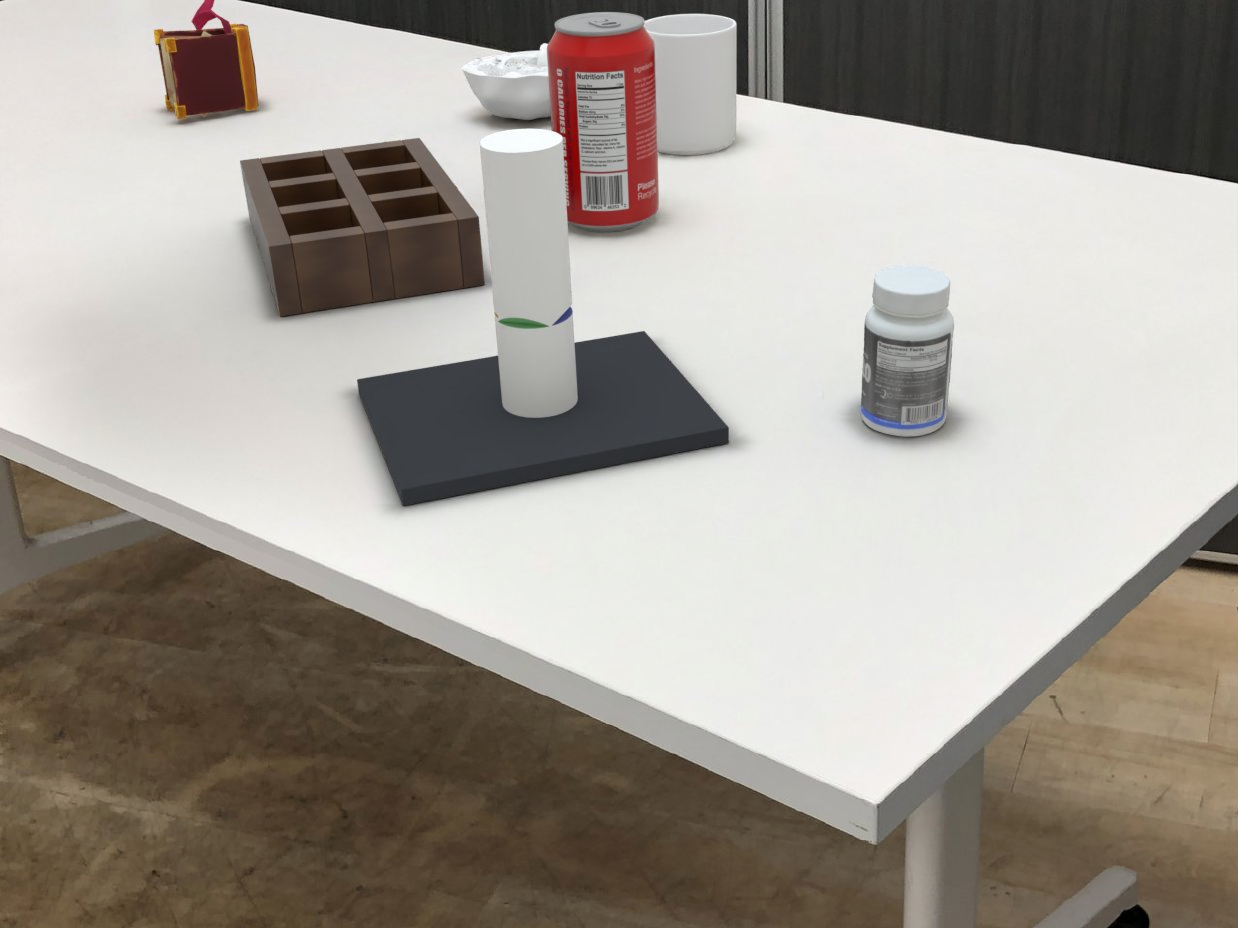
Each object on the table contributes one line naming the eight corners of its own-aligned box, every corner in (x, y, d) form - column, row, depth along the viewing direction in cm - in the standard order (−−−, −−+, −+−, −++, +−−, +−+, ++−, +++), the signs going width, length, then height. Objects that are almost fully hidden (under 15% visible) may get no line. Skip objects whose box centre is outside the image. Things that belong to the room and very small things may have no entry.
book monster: (167, 125, 138) (166, 101, 149) (263, 117, 140) (255, 94, 151) (148, 10, 134) (149, -6, 144) (247, 3, 136) (241, -12, 146)
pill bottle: (870, 395, 83) (877, 257, 79) (953, 406, 81) (964, 266, 77) (850, 432, 79) (857, 289, 75) (937, 444, 77) (948, 299, 73)
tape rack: (280, 317, 96) (268, 246, 94) (250, 222, 113) (239, 160, 111) (485, 285, 100) (479, 216, 97) (426, 198, 117) (419, 137, 114)
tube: (490, 395, 82) (467, 137, 75) (558, 378, 84) (541, 124, 77) (520, 424, 79) (499, 157, 72) (590, 406, 81) (576, 143, 73)
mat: (402, 506, 74) (400, 489, 73) (358, 394, 85) (356, 378, 85) (729, 443, 78) (729, 427, 78) (644, 345, 90) (644, 330, 90)
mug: (633, 170, 121) (629, 46, 116) (589, 146, 128) (583, 28, 123) (754, 146, 126) (755, 26, 121) (705, 124, 132) (704, 9, 127)
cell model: (487, 100, 143) (481, 30, 139) (603, 104, 140) (600, 33, 136) (450, 129, 134) (443, 55, 131) (572, 134, 131) (568, 59, 128)
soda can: (589, 245, 106) (578, 38, 99) (539, 216, 112) (525, 19, 105) (678, 223, 109) (675, 21, 102) (625, 196, 115) (618, 4, 108)
